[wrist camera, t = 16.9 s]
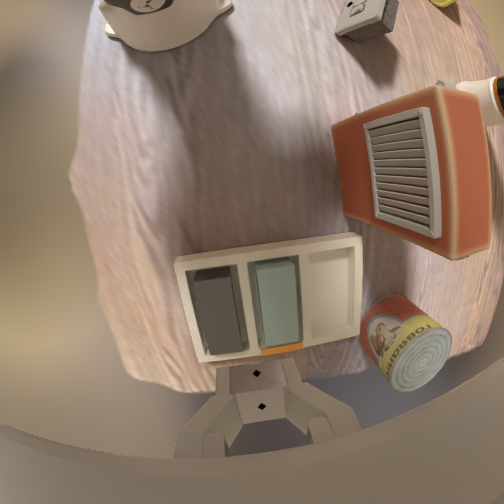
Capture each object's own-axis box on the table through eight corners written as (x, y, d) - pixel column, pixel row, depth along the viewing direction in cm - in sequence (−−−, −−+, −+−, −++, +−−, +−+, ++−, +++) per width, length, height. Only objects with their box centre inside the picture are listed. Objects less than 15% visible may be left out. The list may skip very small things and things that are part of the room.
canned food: (379, 285, 40) (422, 320, 28) (421, 303, 42) (462, 335, 30) (346, 344, 42) (375, 390, 31) (390, 354, 44) (422, 393, 33)
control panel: (367, 115, 32) (380, 217, 37) (322, 116, 32) (338, 225, 36) (479, 81, 12) (493, 261, 16) (422, 64, 12) (442, 281, 16)
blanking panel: (253, 260, 36) (256, 270, 32) (287, 255, 36) (294, 265, 33) (262, 331, 39) (265, 346, 35) (292, 326, 40) (298, 340, 36)
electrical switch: (345, 0, 27) (374, -25, 18) (372, 16, 28) (404, -5, 19) (332, 35, 29) (363, 9, 20) (361, 52, 30) (397, 32, 21)
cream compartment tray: (177, 256, 36) (173, 263, 33) (353, 231, 37) (363, 236, 34) (200, 351, 40) (199, 364, 37) (352, 326, 41) (360, 336, 38)
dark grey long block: (196, 270, 36) (192, 281, 32) (229, 266, 36) (230, 276, 32) (211, 339, 39) (210, 355, 35) (241, 335, 39) (242, 351, 35)
